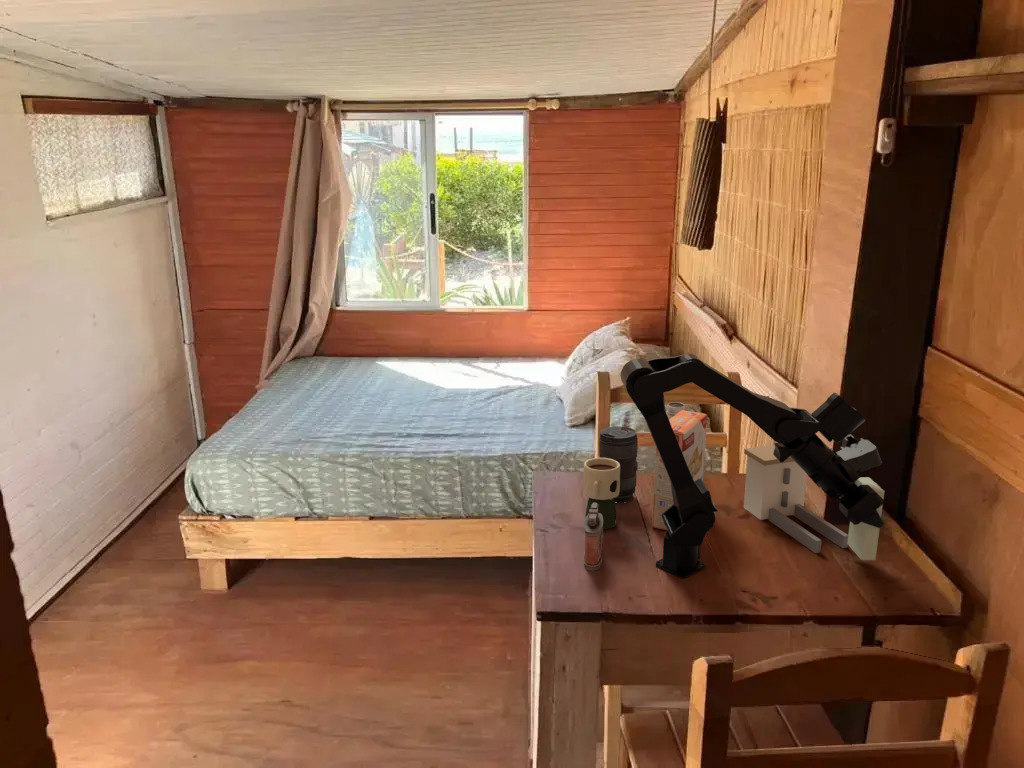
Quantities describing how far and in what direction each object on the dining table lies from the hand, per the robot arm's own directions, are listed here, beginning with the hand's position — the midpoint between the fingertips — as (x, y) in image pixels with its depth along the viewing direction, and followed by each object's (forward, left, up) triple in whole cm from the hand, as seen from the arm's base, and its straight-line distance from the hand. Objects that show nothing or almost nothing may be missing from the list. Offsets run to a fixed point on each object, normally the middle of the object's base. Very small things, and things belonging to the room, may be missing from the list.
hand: (873, 517), depth 136 cm
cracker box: (-11, +34, -9) cm, 37 cm away
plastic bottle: (-2, +43, -9) cm, 44 cm away
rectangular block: (-1, +1, -7) cm, 7 cm away
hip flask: (-36, +33, -9) cm, 50 cm away
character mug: (-25, +42, -9) cm, 50 cm away
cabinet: (+4, +17, -9) cm, 19 cm away
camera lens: (-13, +49, -9) cm, 51 cm away
